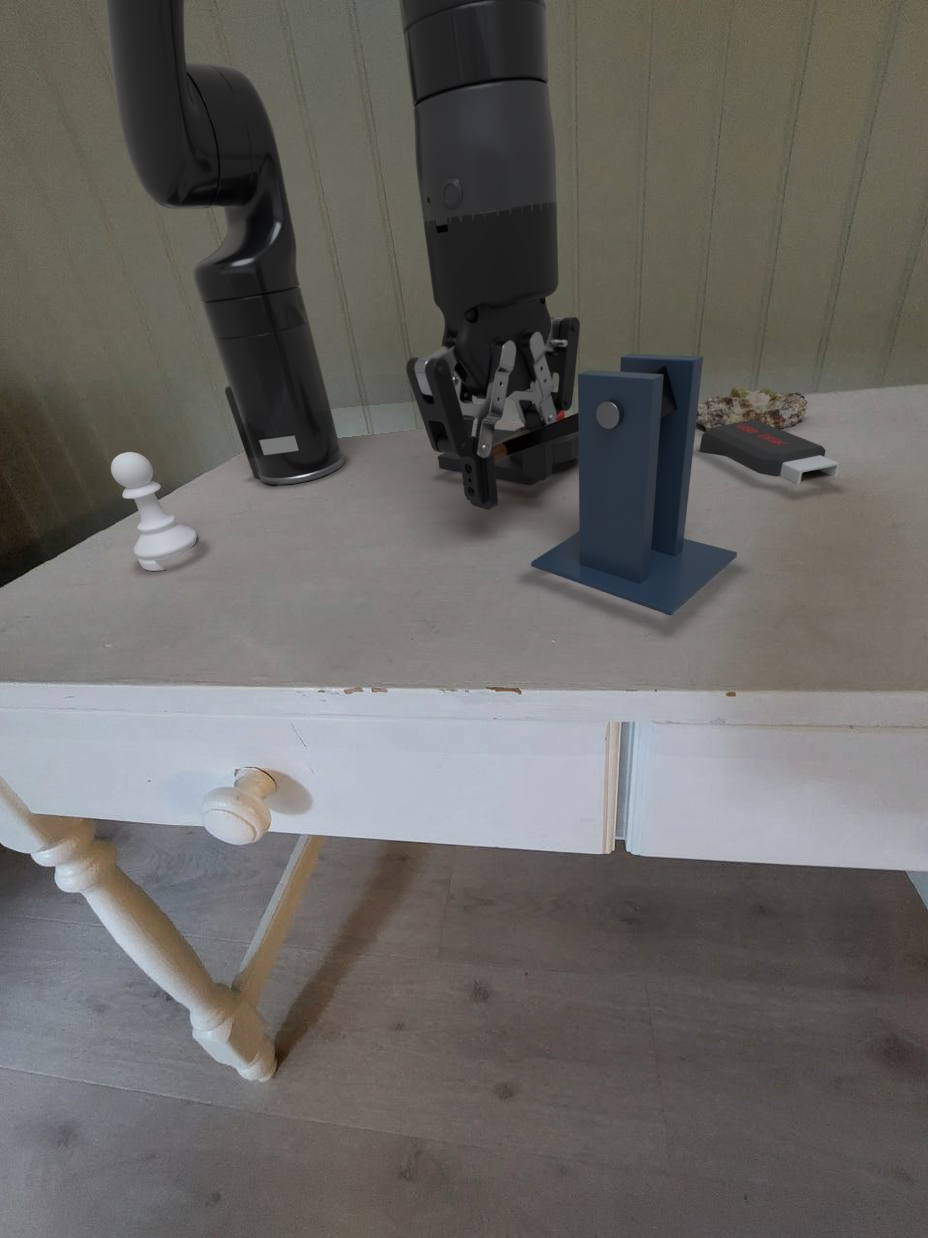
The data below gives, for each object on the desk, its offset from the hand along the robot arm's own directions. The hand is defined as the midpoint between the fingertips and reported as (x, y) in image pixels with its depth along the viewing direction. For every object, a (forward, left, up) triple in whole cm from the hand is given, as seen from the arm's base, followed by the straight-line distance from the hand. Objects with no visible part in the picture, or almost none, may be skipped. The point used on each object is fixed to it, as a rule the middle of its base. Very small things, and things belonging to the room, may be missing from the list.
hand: (511, 490), depth 41 cm
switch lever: (+5, -2, +4) cm, 7 cm away
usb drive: (+16, +17, -4) cm, 24 cm away
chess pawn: (-28, -9, -4) cm, 29 cm away
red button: (-2, +13, 0) cm, 13 cm away
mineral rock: (+14, +29, -4) cm, 32 cm away
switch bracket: (+9, -3, -4) cm, 11 cm away
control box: (-6, +14, -4) cm, 15 cm away
